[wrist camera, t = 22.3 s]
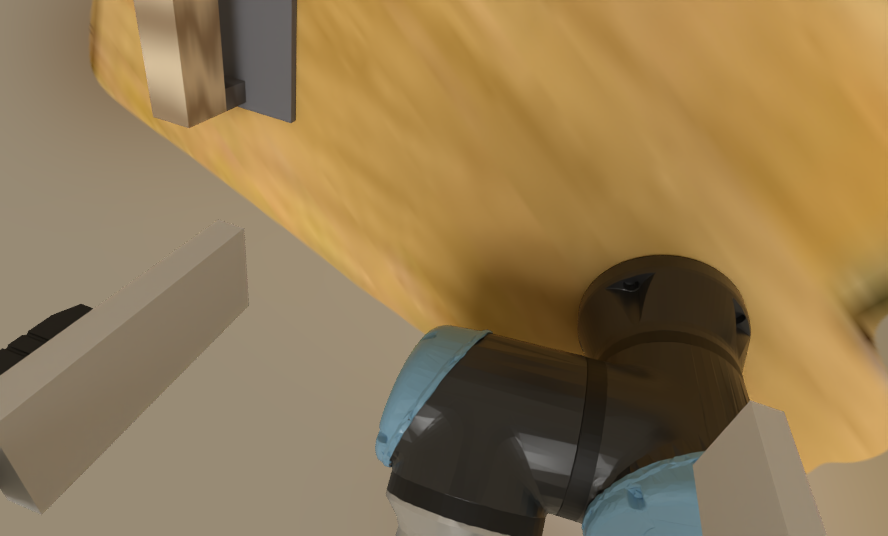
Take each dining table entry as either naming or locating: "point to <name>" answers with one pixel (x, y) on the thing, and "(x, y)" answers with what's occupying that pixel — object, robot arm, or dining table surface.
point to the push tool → (185, 61)
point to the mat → (261, 53)
